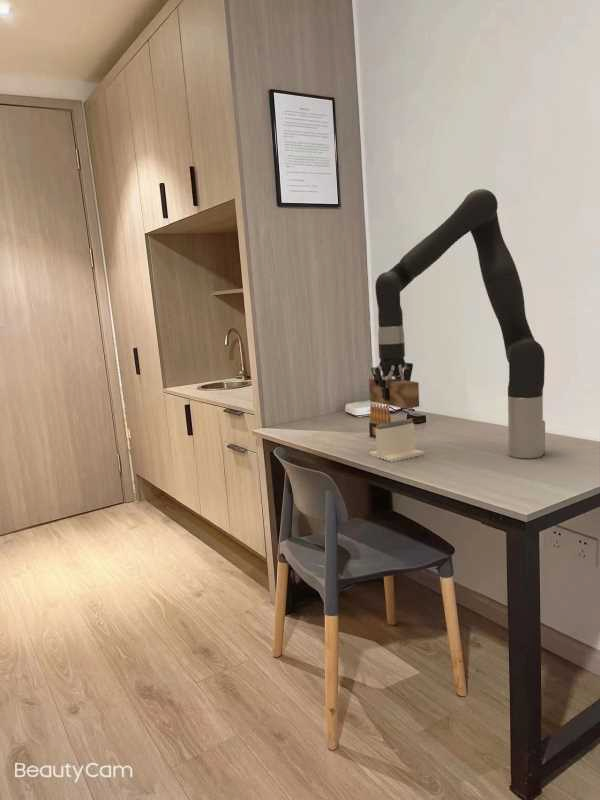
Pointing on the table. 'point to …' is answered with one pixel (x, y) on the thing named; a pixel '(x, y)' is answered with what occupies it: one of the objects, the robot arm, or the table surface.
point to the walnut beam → (396, 393)
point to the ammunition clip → (378, 417)
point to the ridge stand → (395, 441)
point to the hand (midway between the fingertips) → (393, 399)
